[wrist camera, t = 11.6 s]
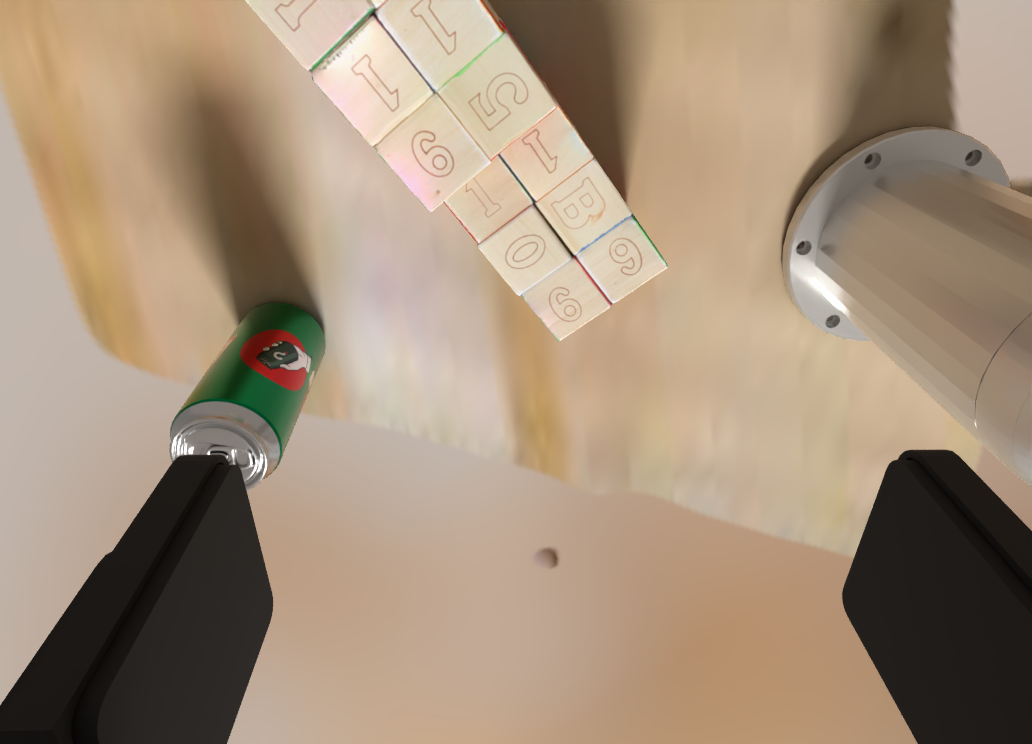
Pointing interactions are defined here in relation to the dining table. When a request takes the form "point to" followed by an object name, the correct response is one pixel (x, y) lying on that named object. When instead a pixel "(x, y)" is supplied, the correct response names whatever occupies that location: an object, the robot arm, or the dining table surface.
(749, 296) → the dining table surface
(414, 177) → the stack of blocks
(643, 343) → the dining table surface
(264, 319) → the soda can
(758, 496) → the dining table surface
